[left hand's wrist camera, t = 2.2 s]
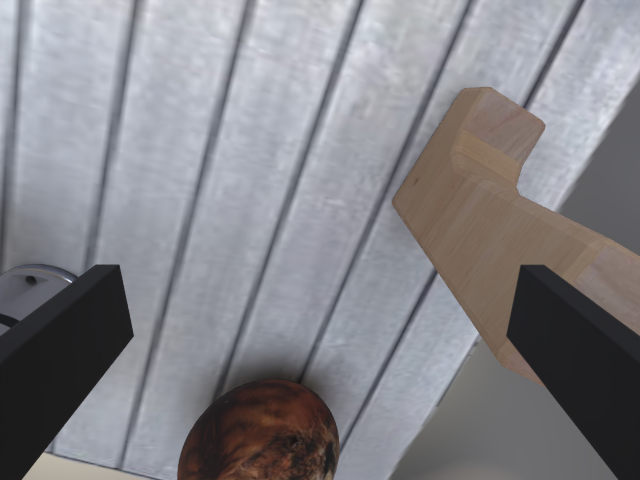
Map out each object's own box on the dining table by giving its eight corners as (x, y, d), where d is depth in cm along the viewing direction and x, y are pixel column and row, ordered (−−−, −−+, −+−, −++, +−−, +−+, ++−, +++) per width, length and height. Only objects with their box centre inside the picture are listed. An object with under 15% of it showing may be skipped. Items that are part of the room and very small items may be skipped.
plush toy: (265, 522, 58) (167, 610, 40) (225, 408, 65) (125, 441, 47) (388, 463, 53) (337, 533, 35) (330, 346, 60) (263, 355, 42)
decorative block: (516, 120, 43) (898, 163, 14) (439, 231, 47) (615, 427, 19) (462, 85, 41) (764, 60, 13) (388, 203, 46) (496, 369, 18)
